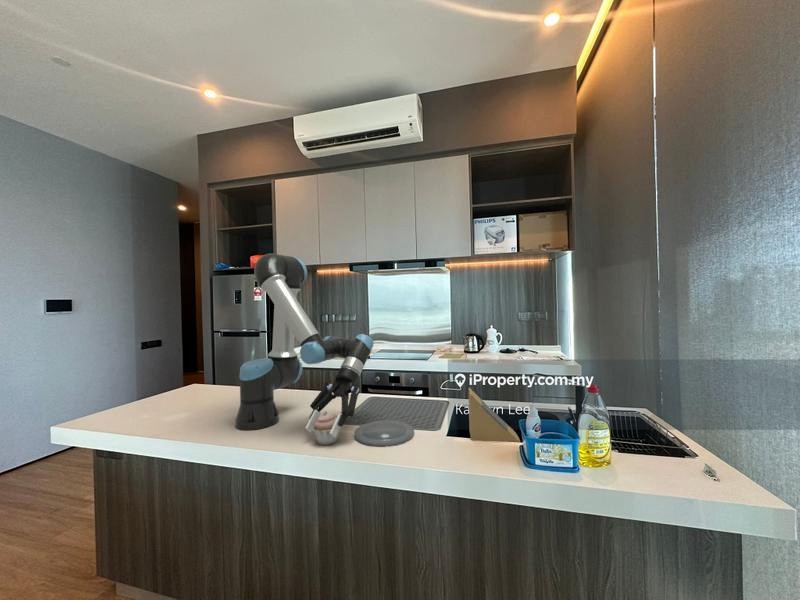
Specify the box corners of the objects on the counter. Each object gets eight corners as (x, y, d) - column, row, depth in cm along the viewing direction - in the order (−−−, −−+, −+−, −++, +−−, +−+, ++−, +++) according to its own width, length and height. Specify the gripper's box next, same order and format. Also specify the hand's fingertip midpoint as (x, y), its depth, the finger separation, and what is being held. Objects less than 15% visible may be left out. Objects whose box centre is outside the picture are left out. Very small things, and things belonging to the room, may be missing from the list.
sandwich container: (521, 442, 105) (520, 394, 105) (471, 441, 107) (470, 393, 107) (515, 432, 114) (514, 387, 114) (469, 430, 116) (468, 386, 116)
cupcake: (308, 440, 110) (307, 409, 110) (335, 433, 115) (334, 404, 116) (318, 450, 102) (317, 417, 103) (346, 442, 108) (346, 411, 108)
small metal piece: (694, 471, 86) (693, 459, 86) (705, 472, 85) (704, 460, 85) (707, 482, 80) (707, 470, 80) (719, 484, 80) (719, 471, 80)
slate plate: (342, 435, 113) (342, 431, 113) (384, 419, 128) (384, 416, 128) (383, 452, 100) (383, 448, 100) (426, 432, 114) (426, 428, 114)
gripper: (379, 381, 118) (353, 444, 103) (330, 376, 128) (300, 432, 114) (371, 368, 113) (342, 432, 99) (320, 364, 123) (288, 422, 109)
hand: (320, 432), depth 106 cm, fingers closed on cupcake, 9 cm apart
